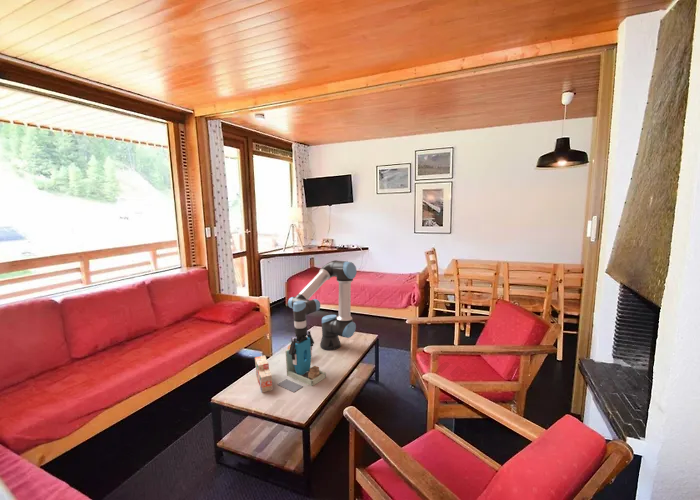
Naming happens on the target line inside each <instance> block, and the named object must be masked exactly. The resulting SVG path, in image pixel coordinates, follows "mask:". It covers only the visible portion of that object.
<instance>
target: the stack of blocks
mask: <svg viewBox="0 0 700 500" xmlns="http://www.w3.org/2000/svg"><path fill="white" fill-rule="evenodd" d="M254 363H255V366H254V367H255V375H256V380H257V383H258V385H259V389H260V392H261V393H266V392H270V391H273V375H272V373H271V370H270V367H269V366H270V365H269V361H268V360H267V357H266V355H264V354H263V355H260V356H256V357H254Z"/></svg>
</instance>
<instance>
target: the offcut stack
mask: <svg viewBox="0 0 700 500" xmlns="http://www.w3.org/2000/svg"><path fill="white" fill-rule="evenodd" d="M311 367H312V368H310V372H307V373H308V376H307V378H308V379H310V380H313V379H314V378H316V377H318V376H319V375H320V374H319V370H320V367H319V366H317V365H313V366H311Z"/></svg>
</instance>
